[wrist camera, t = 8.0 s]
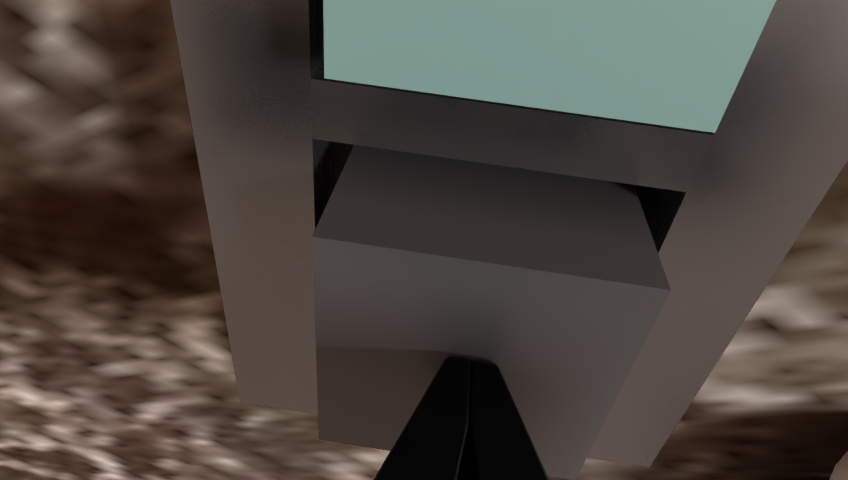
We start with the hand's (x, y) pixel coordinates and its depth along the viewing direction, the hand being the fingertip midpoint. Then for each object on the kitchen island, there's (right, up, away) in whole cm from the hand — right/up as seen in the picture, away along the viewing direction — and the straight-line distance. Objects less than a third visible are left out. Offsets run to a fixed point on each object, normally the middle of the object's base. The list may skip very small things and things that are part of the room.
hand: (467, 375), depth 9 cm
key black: (0, +3, +3) cm, 4 cm away
